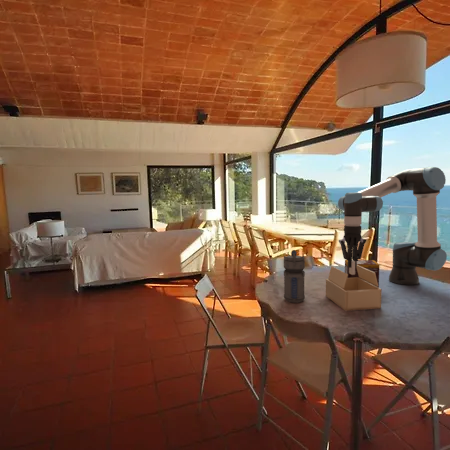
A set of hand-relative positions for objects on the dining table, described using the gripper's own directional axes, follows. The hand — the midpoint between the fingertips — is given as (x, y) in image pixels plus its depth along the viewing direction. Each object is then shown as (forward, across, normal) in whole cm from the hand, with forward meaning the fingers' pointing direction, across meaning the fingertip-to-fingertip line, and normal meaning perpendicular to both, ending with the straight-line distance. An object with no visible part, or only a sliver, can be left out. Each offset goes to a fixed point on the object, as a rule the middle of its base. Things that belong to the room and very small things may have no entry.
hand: (351, 273), depth 144 cm
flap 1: (+5, +8, 0) cm, 9 cm away
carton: (+14, 0, 0) cm, 14 cm away
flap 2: (+5, -8, 0) cm, 10 cm away
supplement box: (+14, -14, -16) cm, 26 cm away
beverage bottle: (+14, +26, -8) cm, 31 cm away
